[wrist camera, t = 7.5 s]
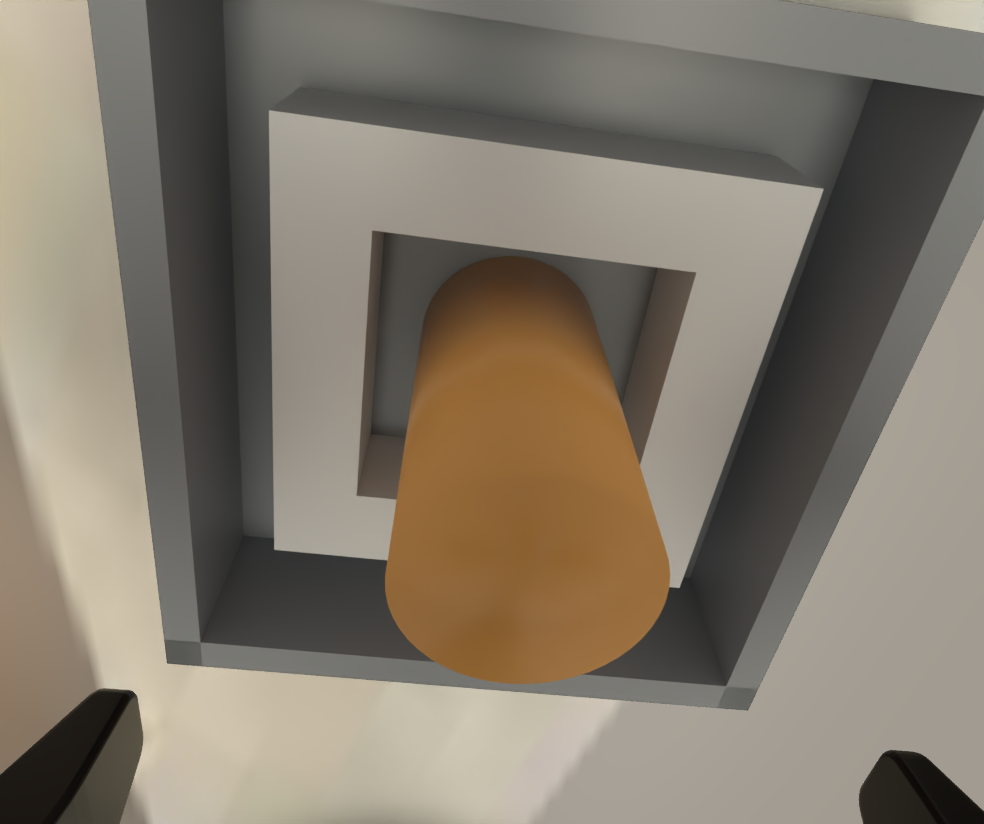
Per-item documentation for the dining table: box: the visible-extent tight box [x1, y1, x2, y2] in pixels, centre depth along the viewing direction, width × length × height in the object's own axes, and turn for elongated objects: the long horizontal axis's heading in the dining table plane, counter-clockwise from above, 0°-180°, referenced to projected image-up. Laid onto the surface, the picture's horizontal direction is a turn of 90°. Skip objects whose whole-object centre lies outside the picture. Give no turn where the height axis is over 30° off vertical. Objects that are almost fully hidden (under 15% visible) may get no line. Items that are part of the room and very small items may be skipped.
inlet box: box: [88, 0, 984, 710], centre depth 16 cm, size 15×14×4 cm
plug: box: [385, 256, 670, 684], centre depth 14 cm, size 4×4×8 cm
